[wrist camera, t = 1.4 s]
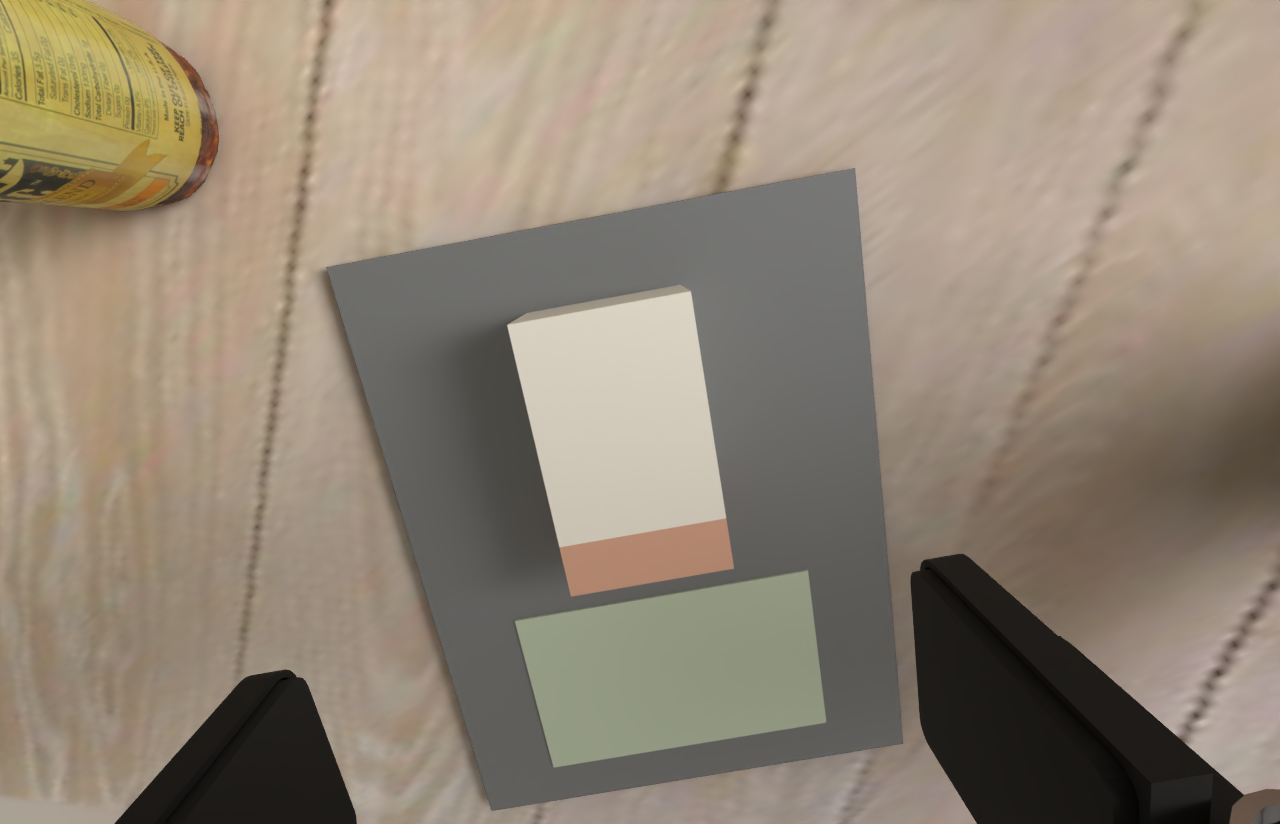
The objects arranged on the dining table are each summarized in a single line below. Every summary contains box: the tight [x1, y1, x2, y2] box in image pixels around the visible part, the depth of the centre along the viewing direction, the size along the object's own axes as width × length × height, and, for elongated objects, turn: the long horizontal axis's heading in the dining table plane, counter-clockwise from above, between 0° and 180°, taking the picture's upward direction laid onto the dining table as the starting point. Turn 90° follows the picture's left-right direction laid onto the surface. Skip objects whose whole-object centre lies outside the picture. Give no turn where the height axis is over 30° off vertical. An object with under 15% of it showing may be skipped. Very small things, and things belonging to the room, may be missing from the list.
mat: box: [326, 168, 903, 811], centre depth 26 cm, size 20×26×1 cm
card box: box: [507, 285, 734, 597], centre depth 23 cm, size 6×10×4 cm, turn 10°
